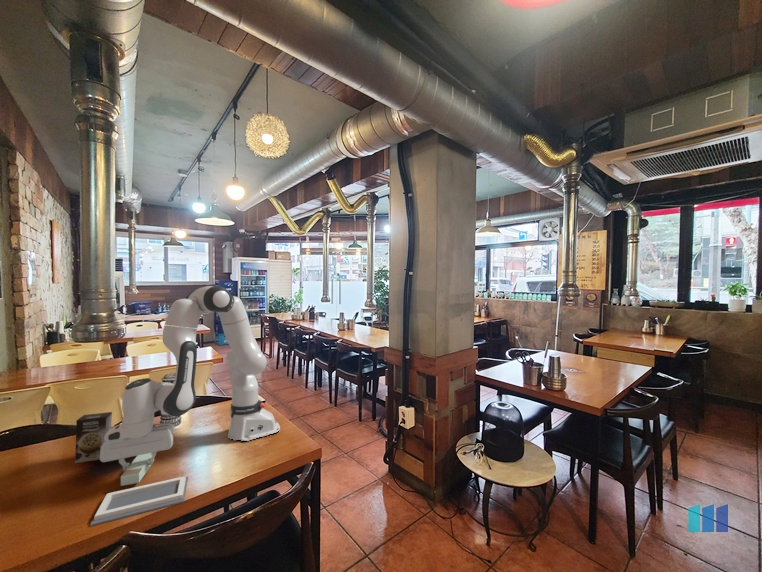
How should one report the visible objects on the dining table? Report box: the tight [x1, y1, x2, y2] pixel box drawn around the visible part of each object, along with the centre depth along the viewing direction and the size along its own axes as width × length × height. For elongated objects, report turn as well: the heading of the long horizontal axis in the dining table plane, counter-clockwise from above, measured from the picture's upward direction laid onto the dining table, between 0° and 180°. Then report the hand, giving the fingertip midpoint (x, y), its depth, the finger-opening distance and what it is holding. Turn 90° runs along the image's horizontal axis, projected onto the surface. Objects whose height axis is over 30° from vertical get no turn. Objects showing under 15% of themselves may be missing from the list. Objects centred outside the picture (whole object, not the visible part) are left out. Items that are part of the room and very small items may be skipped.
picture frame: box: [89, 475, 189, 527], centre depth 98 cm, size 22×14×2 cm, turn 117°
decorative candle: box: [159, 372, 182, 430], centre depth 149 cm, size 9×9×25 cm
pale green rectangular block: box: [120, 453, 155, 487], centre depth 109 cm, size 5×14×3 cm, turn 19°
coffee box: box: [74, 411, 113, 464], centre depth 122 cm, size 9×6×16 cm
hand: (138, 466), depth 109 cm, fingers closed on pale green rectangular block, 5 cm apart
